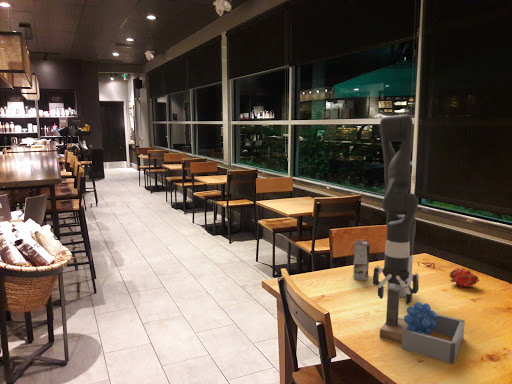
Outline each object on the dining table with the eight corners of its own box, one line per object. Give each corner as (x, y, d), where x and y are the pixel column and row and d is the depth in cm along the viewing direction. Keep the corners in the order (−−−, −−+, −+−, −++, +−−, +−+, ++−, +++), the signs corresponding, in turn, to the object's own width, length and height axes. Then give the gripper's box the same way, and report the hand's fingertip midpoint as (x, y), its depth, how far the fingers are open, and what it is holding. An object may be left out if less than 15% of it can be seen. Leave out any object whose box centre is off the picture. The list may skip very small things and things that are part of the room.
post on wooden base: (390, 323, 142) (393, 282, 140) (411, 329, 138) (414, 287, 136) (379, 337, 132) (382, 293, 130) (401, 344, 129) (404, 299, 126)
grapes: (410, 345, 128) (413, 308, 126) (399, 334, 134) (401, 300, 133) (443, 341, 130) (446, 305, 129) (430, 331, 137) (432, 297, 135)
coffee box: (368, 280, 183) (370, 245, 181) (353, 279, 185) (355, 244, 182) (367, 273, 192) (368, 240, 190) (353, 272, 193) (354, 239, 191)
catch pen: (416, 325, 141) (417, 309, 140) (463, 337, 132) (464, 320, 132) (401, 348, 126) (402, 330, 125) (453, 364, 117) (455, 344, 117)
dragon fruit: (445, 286, 181) (475, 294, 177) (449, 281, 174) (480, 289, 170) (448, 268, 184) (478, 276, 180) (452, 262, 177) (483, 270, 173)
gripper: (422, 254, 131) (419, 302, 134) (378, 247, 139) (376, 292, 142) (417, 260, 125) (413, 310, 128) (371, 252, 133) (369, 299, 136)
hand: (394, 300), depth 135 cm, fingers open, 8 cm apart
